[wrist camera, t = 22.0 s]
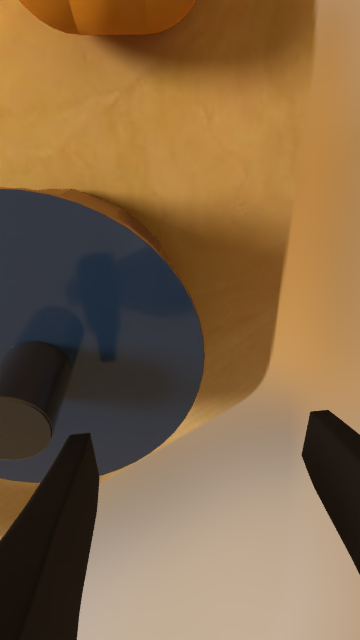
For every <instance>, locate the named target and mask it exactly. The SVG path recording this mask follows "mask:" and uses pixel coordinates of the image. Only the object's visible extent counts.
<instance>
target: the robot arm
mask: <svg viewBox="0 0 360 640" xmlns="http://www.w3.org/2000/svg"><path fill="white" fill-rule="evenodd" d="M302 457H303V460H304V463H305V465H306V468H307V471H308V473H309V476H310V478H311V481H312V483H313V486H314V488H315V490H316V491H317V494H318V495H319V497H320V499H321V501H322V503H323V505H324V507H325V509H326V511H327V513H328V514H329V516H330V518H331V520H332V522H333V524H334V526H335V528H336V530H337V531H338V533H339V535H340V537H341V539H342V541H343V543H344V544H345V547H346V548H347V550H348V552H349V554H350V556H351V558H352V560H353V562H354V564H355V566H356V568H357V570H358V572H359V574H360V435H359V434H358V433H357V432H356V431H354V430H353V429H352V428H351V427H349V426H348V425H347V424H345V423H344V422H343V421H342V420H340V419H339V418H338V417H336V416H335V415H334V414H333V413H331V412H330V411H329V410H323V411H313V412H310V416H309V422H308V426H307V431H306V436H305V441H304V446H303V451H302ZM98 487H99V472H98V468H97V463H96V458H95V453H94V448H93V444H92V439H91V434H90V433H83V434H73V435H70V436H69V437H68V438H67V440H66V442H65V443H64V445H63V447H62V449H61V450H60V452H59V454H58V456H57V457H56V459H55V461H54V462H53V464H52V466H51V467H50V469H49V471H48V472H47V474H46V475H45V477H44V479H43V480H42V482H41V483H40V485H39V486H38V488H37V489H36V491H35V492H34V494H33V495H32V497H31V499H30V500H29V502H28V503H27V504H26V506H25V507H24V509H23V510H22V512H21V513H20V514H19V516H18V517H17V518H16V520H15V521H14V523H13V524H12V525H11V527H10V528H9V530H8V531H7V532H6V534H5V535H4V536H3V538H2V539H1V540H0V640H77V631H78V621H79V612H80V605H81V598H82V591H83V586H84V581H85V575H86V569H87V563H88V558H89V553H90V547H91V541H92V536H93V530H94V524H95V519H96V512H97V503H98V489H99V488H98Z"/></svg>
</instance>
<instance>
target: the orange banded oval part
mask: <svg viewBox="0 0 360 640" xmlns="http://www.w3.org/2000/svg"><path fill="white" fill-rule="evenodd" d="M19 1H20V2H21V3H22V4H23V5H24V6H25V7H26V8H27V9H28V10H29V11H30V12H31V13H32V14H33V15H35V16H36V17H37V18H38V19H39V20H41V21H42V22H44V23H46V24H47V25H49V26H51V27H52V28H54V29H57V30H60V31H63V32H65V33H71V34H79V35H145V34H153V33H159V32H161V31H164V30H166V29H169V28H171V27H172V26H174V25H175V24H176V23H178V22H179V21H180V20H182V19H183V18H184V17H185V15H186V14H187V13H188V12H189V11H190V10H191V9H192V7H193V6H194V4H195V2H196V1H197V0H19Z"/></svg>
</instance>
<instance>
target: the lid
mask: <svg viewBox="0 0 360 640" xmlns="http://www.w3.org/2000/svg"><path fill="white" fill-rule="evenodd" d="M204 357H205V355H204V340H203V334H202V329H201V325H200V321H199V317H198V314H197V312H196V309H195V306H194V304H193V301H192V299H191V296H190V294H189V292H188V291H187V289H186V287H185V285H184V283H183V282H182V280H181V278H180V276H179V275H178V274H177V273H176V271H175V270H174V269H173V267H172V266H171V265H170V263H169V262H168V261H167V259H166V258H165V257H164V256H163V255H162V254H161V253H160V252H159V251H158V250H157V249H156V248H155V247H154V246H153V245H152V244H151V243H150V242H149V241H148V240H146V239H145V238H144V237H142V236H141V235H140V234H138V233H137V232H136V231H135V230H133V229H132V228H131V227H129V226H128V225H126V224H125V223H123V222H121V221H120V220H118V219H116V218H115V217H113V216H111V215H109V214H108V213H106V212H104V211H102V210H99V209H97V208H95V207H93V206H90V205H88V204H86V203H83V202H81V201H78V200H75V199H72V198H68V197H65V196H61V195H58V194H55V193H51V192H44V191H38V190H32V189H26V188H4V187H0V478H2V479H7V480H13V481H22V482H36V483H41V482H42V480H43V479H44V477H45V475H46V474H47V472H48V471H49V469H50V467H51V466H52V464H53V462H54V461H55V459H56V457H57V456H58V454H59V452H60V450H61V449H62V447H63V445H64V443H65V442H66V440H67V438H68V437H69V436H70V435H73V434H83V433H90V434H91V439H92V444H93V448H94V453H95V458H96V463H97V468H98V472H99V476H100V475H104V474H107V473H110V472H113V471H116V470H119V469H121V468H123V467H125V466H128V465H130V464H132V463H134V462H136V461H138V460H139V459H141V458H143V457H144V456H146V455H148V454H149V453H151V452H152V451H153V450H155V449H156V448H157V447H159V446H160V445H161V444H162V443H164V442H165V441H166V440H167V439H168V438H169V437H170V436H171V435H172V434H173V433H174V432H175V431H176V429H177V428H178V427H179V425H180V424H181V423H182V422H183V420H184V419H185V417H186V416H187V414H188V412H189V411H190V409H191V407H192V406H193V403H194V401H195V398H196V396H197V393H198V391H199V388H200V384H201V380H202V376H203V368H204Z"/></svg>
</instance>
